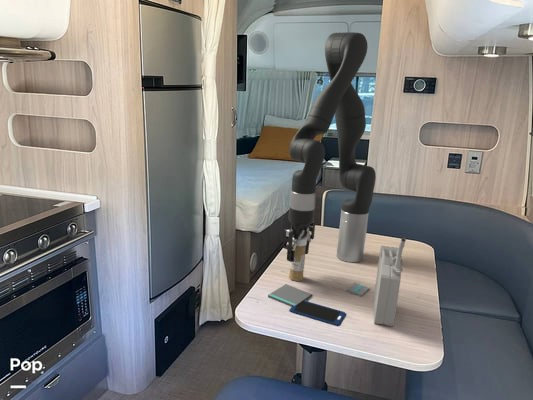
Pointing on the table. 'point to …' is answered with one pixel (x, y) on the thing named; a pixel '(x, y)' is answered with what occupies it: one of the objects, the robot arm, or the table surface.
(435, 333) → the table surface
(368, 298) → the table surface
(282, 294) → the mat
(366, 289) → the label tag
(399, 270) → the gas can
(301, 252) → the sprinkles bottle
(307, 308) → the cell phone
